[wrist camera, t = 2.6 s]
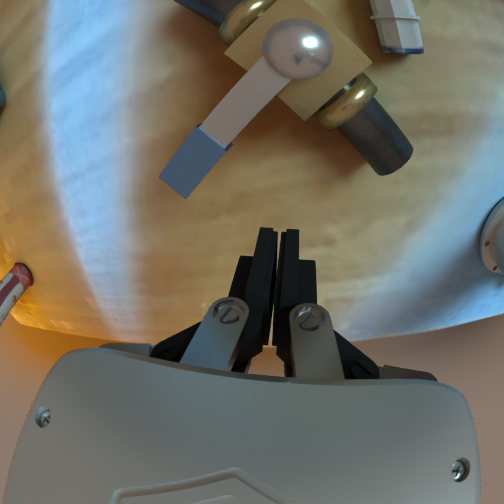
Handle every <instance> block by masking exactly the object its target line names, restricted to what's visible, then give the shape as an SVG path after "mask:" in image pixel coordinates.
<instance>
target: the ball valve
mask: <svg viewBox="0 0 504 504" xmlns="http://www.w3.org/2000/svg"><path fill="white" fill-rule="evenodd" d="M174 1H175V2H177V3H178V4H180V5H182V6H184V7H186V8H187V9H189V10H191V11H192V12H194V13H196V14H198V15H199V16H201V17H202V18H204V19H206V20H207V21H209V22H210V23H212V24H214V25H215V26H217V27H218V28H219V31H218V38H219V39H220V40H221V41H223V42H224V43H226V44H227V45H229V46H230V47H229V48H228V49H227V50H226V51H225V52H224V54H225V55H227V56H228V57H229V58H231V59H232V60H233V61H235V62H236V63H237V64H239V65H240V66H241V67H242V68H244V69H245V70H246V71H249V70H250V69H251V68H252V67H253V66H254V65H255V64H256V63H257V62H258V61H259V60H260V59H261V58H262V57H263V56H264V55H263V50H262V44H263V39H264V36H265V34H266V33H267V31H268V30H269V29H270V28H271V27H272V26H273V25H274V24H276V23H278V22H280V21H282V20H285V19H290V18H301V19H306V20H310V21H312V22H314V23H316V24H318V25H319V26H320V27H322V28H323V29H324V30H325V31H326V33H327V34H328V35H329V37H330V39H331V41H332V45H333V57H332V60H331V62H330V64H329V66H328V67H327V68H326V69H325V70H324V71H323V72H322V73H321V74H319V75H317V76H315V77H313V78H309V79H301V80H299V79H292V80H291V81H290V82H289V83H288V84H287V85H286V86H285V87H284V88H283V89H282V90H281V91H280V92H279V93H278V94H277V95H276V96H278V97H279V98H280V99H281V100H282V101H283V102H284V103H286V104H287V105H288V106H289V107H290V108H291V109H292V110H293V111H294V112H295V113H296V114H297V115H299V116H300V117H301V118H302V119H303V120H304V121H306V120H307V119H308V118H309V117H310V116H311V115H312V114H313V117H314V118H315V119H316V120H317V121H318V122H319V123H320V124H321V125H322V126H323V127H324V128H325V129H326V130H332V129H334V128H337V129H338V130H339V131H340V132H341V133H342V134H343V135H344V136H345V137H346V138H347V139H348V141H349V142H350V143H351V144H352V145H353V146H354V147H355V148H356V150H357V151H358V152H359V153H360V154H361V155H362V156H363V158H364V159H365V160H366V161H367V162H368V164H369V165H370V166H371V167H372V168H373V170H374V171H375V172H376V173H377V174H378V175H381V176H384V175H388V174H391V173H393V172H395V171H397V170H398V169H399V168H401V167H402V166H403V165H404V164H405V163H406V162H407V161H408V160H409V159H410V157H411V155H412V153H413V147H412V145H411V144H410V142H409V141H408V139H407V138H406V137H405V135H404V134H403V133H402V131H401V130H400V129H399V127H398V126H397V125H396V123H395V122H394V121H393V119H392V118H391V117H390V116H389V114H388V113H387V112H386V111H385V109H384V108H383V107H382V106H381V105H380V103H379V102H378V101H377V100H376V99H375V98H374V97H373V96H374V95H375V94H376V92H377V87H376V86H375V85H374V83H373V82H372V81H371V80H370V79H369V78H368V77H367V76H366V75H365V74H364V73H361V72H362V71H363V70H364V69H365V68H367V67H368V66H369V65H370V64H371V63H373V62H372V61H371V60H370V59H369V58H368V57H367V56H366V55H365V54H364V53H363V52H362V51H361V50H360V49H359V48H358V47H357V46H356V45H355V44H354V43H353V42H352V41H351V40H350V39H349V38H348V37H347V36H346V35H345V34H343V33H342V32H341V31H340V30H339V29H338V28H337V27H336V26H334V25H333V24H332V23H331V22H330V21H329V20H327V19H326V18H325V17H324V16H323V15H321V14H320V13H319V12H318V11H316V10H315V9H314V8H313V7H311V6H310V5H309V4H307V3H306V2H305V1H303V0H174ZM359 73H360V74H359Z"/></svg>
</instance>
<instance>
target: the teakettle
mask: <svg viewBox="0 0 504 504" xmlns="http://www.w3.org/2000/svg"><path fill="white" fill-rule="evenodd" d="M4 103H5V92H4V91H3V90H1V88H0V106H3V105H4Z"/></svg>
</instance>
